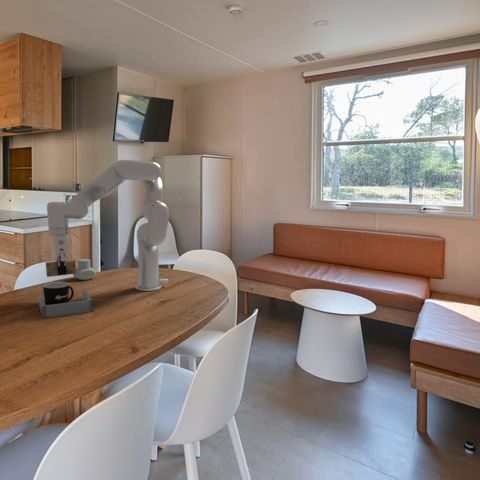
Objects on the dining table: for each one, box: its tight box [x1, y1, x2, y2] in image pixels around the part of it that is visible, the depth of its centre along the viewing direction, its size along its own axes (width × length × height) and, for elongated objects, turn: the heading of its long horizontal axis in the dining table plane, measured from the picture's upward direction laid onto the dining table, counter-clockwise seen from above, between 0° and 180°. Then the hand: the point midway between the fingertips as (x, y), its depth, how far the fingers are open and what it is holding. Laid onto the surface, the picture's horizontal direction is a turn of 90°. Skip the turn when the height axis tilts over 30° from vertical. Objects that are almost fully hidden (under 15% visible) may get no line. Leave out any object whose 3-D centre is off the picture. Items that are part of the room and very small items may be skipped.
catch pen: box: [38, 289, 94, 319], centre depth 150 cm, size 17×17×4 cm
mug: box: [42, 281, 75, 305], centre depth 149 cm, size 12×9×10 cm
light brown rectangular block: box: [45, 259, 77, 278], centre depth 160 cm, size 11×4×6 cm, turn 122°
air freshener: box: [72, 258, 97, 281], centre depth 194 cm, size 11×8×10 cm
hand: (61, 273), depth 160 cm, fingers closed on light brown rectangular block, 3 cm apart
